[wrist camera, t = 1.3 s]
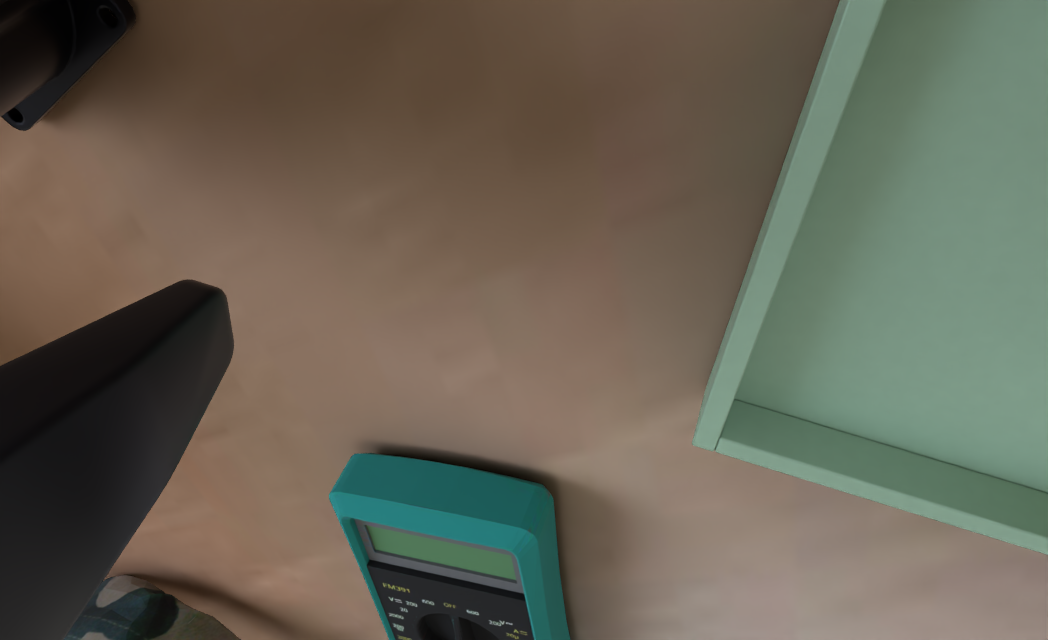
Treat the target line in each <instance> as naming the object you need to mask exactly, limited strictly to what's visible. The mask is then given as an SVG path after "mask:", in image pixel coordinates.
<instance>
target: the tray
mask: <svg viewBox="0 0 1048 640" xmlns="http://www.w3.org/2000/svg"><path fill="white" fill-rule="evenodd" d="M692 445H694V446H697V447H700V448H703V449H706V450H710V451H714V450H715V451H716V452H717V453H720V454H723V455H727V456H730V457H733V458H736V459H740V460H743V461H746V462H749V463H753V464H756V465H759V466H762V467H765V468H769V469H772V470H775V471H778V472H782V473H785V474H788V475H791V476H795V477H798V478H801V479H804V480H807V481H811V482H814V483H817V484H820V485H824V486H827V487H830V488H833V489H837V490H840V491H843V492H846V493H849V494H853V495H856V496H859V497H862V498H866V499H869V500H872V501H875V502H879V503H882V504H885V505H888V506H891V507H895V508H898V509H901V510H904V511H908V512H911V513H914V514H917V515H921V516H924V517H927V518H930V519H933V520H937V521H940V522H943V523H946V524H950V525H953V526H956V527H959V528H963V529H966V530H969V531H972V532H975V533H979V534H982V535H985V536H988V537H992V538H995V539H998V540H1001V541H1005V542H1008V543H1011V544H1014V545H1017V546H1021V547H1024V548H1027V549H1030V550H1034V551H1037V552H1040V553H1043V554H1047V555H1048V0H840V2H839V5H838V8H837V10H836V13H835V16H834V19H833V22H832V25H831V28H830V31H829V34H828V36H827V39H826V42H825V45H824V48H823V51H822V54H821V57H820V60H819V62H818V65H817V68H816V71H815V74H814V77H813V80H812V83H811V86H810V89H809V91H808V94H807V97H806V100H805V103H804V106H803V109H802V112H801V115H800V117H799V120H798V123H797V126H796V129H795V132H794V135H793V138H792V141H791V143H790V146H789V149H788V152H787V155H786V158H785V161H784V164H783V167H782V169H781V172H780V175H779V178H778V181H777V184H776V187H775V190H774V193H773V195H772V198H771V201H770V204H769V207H768V210H767V213H766V216H765V219H764V222H763V224H762V227H761V230H760V233H759V236H758V239H757V242H756V245H755V248H754V250H753V253H752V256H751V259H750V262H749V265H748V268H747V271H746V274H745V276H744V279H743V282H742V285H741V288H740V291H739V294H738V297H737V300H736V302H735V305H734V308H733V311H732V314H731V317H730V320H729V323H728V326H727V328H726V331H725V334H724V337H723V340H722V343H721V346H720V349H719V352H718V355H717V357H716V360H715V363H714V366H713V369H712V372H711V375H710V378H709V381H708V383H707V386H706V389H705V393H704V397H703V402H702V405H701V409H700V413H699V417H698V421H697V425H696V429H695V433H694V437H693V441H692Z"/></svg>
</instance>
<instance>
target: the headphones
mask: <svg viewBox="0 0 1048 640" xmlns="http://www.w3.org/2000/svg"><path fill="white" fill-rule="evenodd" d="M64 640H241V639H240V638H238V637H237V636H236V635H234V634H233V633H232V632H231V631H230V630H229V629H227V628H226V627H225V626H224V625H223V624H221V623H220V622H219V621H218V620H217V619H215V618H214V617H213V616H210V615H208V614H205V613H202V612H200V611H197V610H195V609H193V608H191V607H189V606H187V605H186V604H184V603H182V602H181V601H179V600H178V599H177V598H175V597H174V596H172V595H170V594H165V593H164V592H163V591H162V590H160V589H159V588H157V587H156V586H154V585H153V584H151V583H150V582H148V581H145V580H142V579H139V578H136V577H133V576H128V575H122V576H117V577H112V578H109V579H107V580H104V581H102V583H101V584H100V586H99V587H98V589H97V590H96V592H95V593H94V595H93V596H92V598H91V599H90V601H89V602H88V604H87V605H86V607H85V608H84V610H83V611H82V613H81V614H80V616H79V617H78V619H77V620H76V622H75V623H74V625H73V626H72V628H71V629H70V631H69V632H68V634H67V635H66V637H65V638H64Z"/></svg>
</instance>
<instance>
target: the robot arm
mask: <svg viewBox="0 0 1048 640" xmlns="http://www.w3.org/2000/svg"><path fill="white" fill-rule="evenodd" d="M109 10H111V11H112V12H113V13H114V15H115V16H116V18H117V19H116V18H115V17H114V16H113V15H112V14H111V12H110V11H109ZM135 23H136V15H135V12H134V10H133V7H132V6H131V4H130V3H129V2H128V0H0V117H2V118H3V119H4V120H5V121H7V122H8V123H9V124H10V125H11V126H13V127H14V128H16V129H18V130H23V131H26V130H28V129H30V128H31V127H33V126H34V125H35V124H37V123H38V122H39V121H40V120H41V119H42V118H43V117H44V116H45V115H46V114H47V113H48V112H49V111H50V110H51V109H52V108H53V107H54V106H55V105H56V104H57V103H58V102H59V101H60V100H61V99H62V98H63V97H64V96H65V95H66V94H67V93H68V92H69V91H70V90H71V89H72V88H73V87H74V86H75V85H76V84H77V83H78V82H79V81H80V80H81V79H82V78H83V77H84V76H85V75H86V74H87V73H88V72H89V71H90V70H91V69H92V68H93V67H94V66H95V65H96V64H97V63H98V62H99V61H100V60H101V59H102V58H103V57H104V56H105V55H106V54H107V53H108V52H109V51H110V50H111V49H112V48H113V47H114V46H115V45H116V44H117V43H118V42H119V41H120V40H121V39H122V38H123V37H124V36H125V35H126V34H127V33H128V32H129V31H130V30H131V29H132V28H133V26H134V24H135ZM233 349H234V340H233V333H232V327H231V321H230V314H229V308H228V302H227V297H226V295H225V293H224V292H223V291H222V290H221V289H219V288H217V287H214V286H211V285H208V284H204V283H201V282H198V281H195V280H183V281H179V282H177V283H175V284H173V285H170V286H168V287H166V288H164V289H162V290H160V291H158V292H156V293H154V294H151V295H149V296H147V297H145V298H143V299H141V300H139V301H137V302H135V303H132V304H130V305H128V306H126V307H124V308H122V309H120V310H118V311H116V312H113V313H111V314H109V315H107V316H105V317H103V318H101V319H99V320H97V321H94V322H92V323H90V324H88V325H86V326H84V327H82V328H80V329H78V330H75V331H73V332H71V333H69V334H67V335H65V336H63V337H61V338H58V339H56V340H54V341H52V342H50V343H48V344H46V345H44V346H42V347H39V348H37V349H35V350H33V351H31V352H29V353H27V354H25V355H23V356H20V357H18V358H16V359H14V360H12V361H10V362H8V363H6V364H4V365H1V366H0V640H64V638H65V637H66V635H67V634H68V632H69V631H70V629H71V628H72V626H73V625H74V623H75V622H76V620H77V619H78V617H79V616H80V614H81V613H82V611H83V610H84V608H85V607H86V605H87V604H88V602H89V601H90V599H91V598H92V596H93V595H94V593H95V592H96V590H97V589H98V587H99V586H100V584H101V583H102V581H103V580H104V578H105V577H106V575H107V574H108V572H109V571H110V569H111V568H112V566H113V565H114V563H115V562H116V560H117V559H118V557H119V556H120V554H121V553H122V551H123V550H124V548H125V547H126V545H127V544H128V542H129V541H130V539H131V538H132V536H133V535H134V533H135V532H136V530H137V529H138V527H139V526H140V524H141V523H142V521H143V520H144V518H145V517H146V515H147V514H148V512H149V511H150V509H151V508H152V506H153V505H154V503H155V502H156V500H157V499H158V497H159V496H160V494H161V492H162V491H163V489H164V488H165V486H166V485H167V483H168V481H169V479H170V478H171V476H172V474H173V472H174V470H175V469H176V467H177V465H178V463H179V461H180V459H181V457H182V455H183V453H184V451H185V449H186V448H187V446H188V444H189V442H190V440H191V438H192V436H193V434H194V432H195V430H196V428H197V426H198V424H199V422H200V420H201V418H202V416H203V414H204V413H205V411H206V409H207V407H208V405H209V403H210V401H211V399H212V397H213V395H214V393H215V391H216V389H217V387H218V385H219V383H220V381H221V380H222V378H223V376H224V374H225V372H226V370H227V368H228V366H229V364H230V361H231V358H232V355H233Z"/></svg>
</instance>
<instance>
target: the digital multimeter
mask: <svg viewBox="0 0 1048 640" xmlns="http://www.w3.org/2000/svg"><path fill="white" fill-rule="evenodd" d="M329 499H330V502H331V504H332V506H333V508H334V511H335V513H336V515H337V517H338V520H339V522H340V524H341V526H342V529H343V531H344V533H345V535H346V538H347V540H348V542H349V545H350V547H351V549H352V551H353V554H354V556H355V558H356V560H357V563H358V565H359V567H360V570H361V572H362V574H363V577H364V579H365V581H366V584H367V586H368V589H369V591H370V593H371V596H372V598H373V601H374V603H375V606H376V608H377V611H378V613H379V615H380V618H381V620H382V623H383V625H384V628H385V630H386V633H387V636H388V638H389V640H570V635H569V631H568V626H567V621H566V614H565V607H564V600H563V593H562V586H561V578H560V571H559V560H558V548H557V536H556V524H555V512H554V500H553V497H552V495H551V493H550V492H549V491H548V490H547V489H546V488H545V487H544V486H543V484H539V483H534V482H530V481H526V480H522V479H518V478H514V477H510V476H506V475H501V474H496V473H491V472H487V471H482V470H477V469H472V468H467V467H461V466H456V465H450V464H445V463H439V462H433V461H427V460H420V459H414V458H407V457H399V456H391V455H383V454H374V453H363V454H354V455H353V456H351V458H350V460H349V461H348V463H347V465H346V467H345V468H344V470H343V472H342V473H341V475H340V477H339V479H338V480H337V482H336V484H335V485H334V487H333V489H332V491H331V492H330V494H329Z"/></svg>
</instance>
